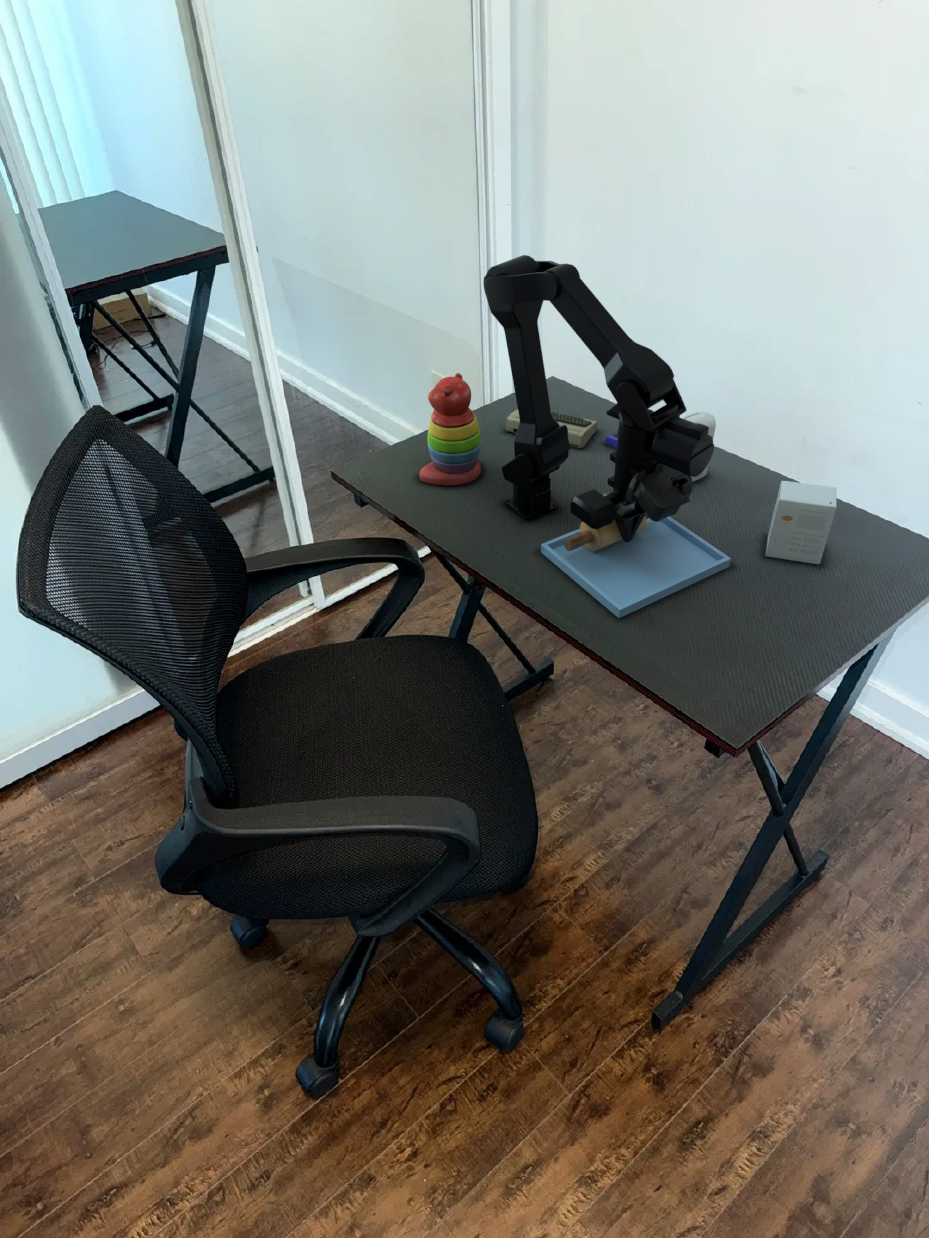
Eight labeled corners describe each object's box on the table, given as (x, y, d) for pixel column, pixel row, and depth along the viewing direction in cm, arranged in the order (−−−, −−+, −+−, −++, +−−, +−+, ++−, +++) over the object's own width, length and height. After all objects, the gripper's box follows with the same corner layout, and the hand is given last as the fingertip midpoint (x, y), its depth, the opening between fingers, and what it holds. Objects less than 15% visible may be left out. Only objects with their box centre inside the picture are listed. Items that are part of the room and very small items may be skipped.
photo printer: (692, 466, 147) (703, 401, 139) (710, 476, 144) (722, 411, 136) (649, 484, 143) (658, 419, 135) (667, 495, 140) (676, 429, 132)
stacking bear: (443, 452, 154) (437, 361, 142) (492, 463, 150) (490, 370, 138) (414, 480, 146) (406, 386, 135) (465, 493, 143) (462, 397, 131)
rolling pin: (556, 550, 128) (558, 523, 125) (644, 514, 135) (647, 488, 132) (576, 566, 125) (578, 539, 122) (664, 528, 132) (668, 502, 128)
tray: (540, 552, 129) (541, 544, 128) (645, 509, 137) (646, 501, 136) (618, 618, 117) (619, 609, 116) (729, 566, 125) (731, 558, 124)
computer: (597, 430, 158) (599, 414, 156) (581, 450, 152) (582, 433, 150) (523, 414, 164) (523, 399, 162) (505, 432, 158) (505, 417, 156)
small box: (820, 545, 128) (838, 486, 121) (819, 566, 124) (838, 507, 117) (766, 536, 130) (781, 479, 123) (764, 557, 126) (779, 498, 119)
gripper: (622, 496, 108) (612, 589, 118) (727, 454, 114) (709, 546, 125) (570, 460, 115) (565, 551, 125) (672, 423, 122) (659, 512, 132)
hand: (626, 540), depth 127 cm, fingers closed, pressing on rolling pin
